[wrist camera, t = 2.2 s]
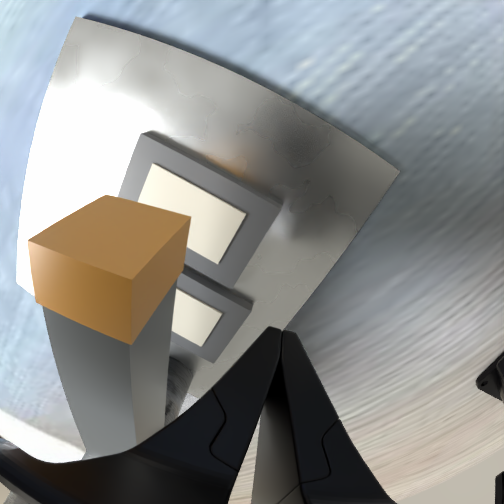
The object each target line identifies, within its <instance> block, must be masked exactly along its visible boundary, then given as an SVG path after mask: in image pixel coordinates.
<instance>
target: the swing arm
mask: <svg viewBox="0 0 504 504" xmlns="http://www.w3.org/2000/svg"><path fill="white" fill-rule="evenodd" d="M190 223H191V216H187V215H184V214H180V213H176V212H173V211H169V210H165V209H161V208H158V207H154V206H150V205H147V204H143V203H139V202H135V201H131V200H128V199H124V198H120V197H116V196H112V195H109V194H105V195H103V196H101V197H99V198H97V199H95V200H93V201H92V202H90V203H88V204H86V205H84V206H83V207H81V208H79V209H77V210H75V211H74V212H72V213H70V214H69V215H67V216H65V217H63V218H62V219H60V220H58V221H57V222H55V223H53V224H52V225H50V226H48V227H47V228H45V229H43V230H42V231H40V232H39V233H37V234H35V235H34V236H32V237H31V238H29V239H28V240H27V247H28V255H29V263H30V270H31V276H32V283H33V288H34V294H35V299H36V302H37V303H38V304H40V305H42V306H43V312H44V317H45V321H46V326H47V330H48V335H49V339H50V343H51V347H52V351H53V355H54V358H55V362H56V366H57V369H58V373H59V376H60V379H61V382H62V386H63V389H64V392H65V395H66V398H67V401H68V404H69V407H70V409H71V412H72V415H73V418H74V420H75V423H76V425H77V428H78V431H79V433H80V436H81V438H82V440H83V443H84V445H85V447H86V450H87V451H86V453H85V454H84V456H83V458H82V460H85V459H91V458H96V457H102V456H107V455H112V454H117V453H121V452H124V451H126V450H129V449H131V448H133V447H134V446H136V445H138V444H140V443H141V442H143V441H144V440H146V439H147V438H149V437H150V436H152V435H153V434H155V433H156V432H158V431H159V430H160V429H162V428H163V427H164V422H165V405H166V390H167V376H168V364H169V352H170V342H171V332H172V322H173V313H174V304H175V296H176V287H177V280H178V277H179V275H180V274H181V272H182V271H183V268H184V261H185V255H186V248H187V242H188V235H189V229H190Z"/></svg>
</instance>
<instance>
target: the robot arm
mask: <svg viewBox="0 0 504 504" xmlns="http://www.w3.org/2000/svg"><path fill="white" fill-rule="evenodd" d="M476 385H477V387H478V389H480V390H482V391H484V392H486V393H487V394H489V395H491V396H493V397H495V398H497V399H499V400H501V401H503V403H504V353H503V354H502V355H501V356H500V357H499V358H498V359H497V360H496V361H495V362H494V363H493V364H492V365H491V366H490V367H489V368H488V369H487V370H485V371H484V372H483V373H482V374H481V375H480V376H479V377H478V378H477V380H476ZM260 415H261V418H260ZM259 418H260V428H259V437H258V446H257V456H256V465H255V473H254V482H253V491H252V499H251V504H397V503H396V502H395V501H393V500H392V499H391V498H390V497H389V496H388V495H387V493H386V492H385V491H384V489H383V488H382V486H381V485H380V484H379V482H378V481H377V479H376V478H375V476H374V475H373V473H372V472H371V470H370V469H369V467H368V466H367V464H366V463H365V462H364V460H363V459H362V457H361V455H360V454H359V452H358V451H357V449H356V447H355V446H354V444H353V443H352V441H351V439H350V437H349V435H348V433H347V432H346V430H345V428H344V426H343V424H342V422H341V420H340V419H339V416H338V414H337V412H336V410H335V408H334V406H333V404H332V403H331V401H330V399H329V397H328V395H327V393H326V391H325V389H324V387H323V385H322V383H321V381H320V379H319V377H318V375H317V373H316V371H315V369H314V367H313V365H312V363H311V361H310V359H309V357H308V355H307V353H306V351H305V349H304V347H303V345H302V344H301V342H300V340H299V338H298V336H297V334H296V333H294V332H290V331H287V330H283V331H282V330H281V329H279V328H275V327H272V326H268V327H267V328H266V329H265V330H264V331H263V332H262V333H261V335H260V336H259V337H258V338H257V339H256V340H255V341H254V342H253V343H252V344H251V345H250V347H249V348H248V349H247V350H246V351H245V352H244V353H243V354H242V355H241V356H240V357H239V358H238V360H237V361H236V362H235V363H234V364H233V365H232V366H231V367H230V368H229V369H228V370H227V371H226V372H225V373H224V374H223V375H222V376H221V378H220V379H219V380H218V381H217V382H216V383H215V384H214V385H213V386H212V387H211V388H210V389H209V390H208V391H207V392H206V393H205V394H204V395H203V396H202V397H201V398H200V399H199V400H198V401H197V402H196V403H194V404H193V405H192V406H191V407H190V408H189V409H188V410H186V411H185V412H184V413H183V414H181V415H180V416H179V417H177V418H176V419H175V420H173V421H172V422H170V423H169V424H168V425H166V426H165V427H163V428H162V429H160V430H159V431H158V432H156V433H155V434H153V435H152V436H150V437H149V438H147V439H146V440H144V441H143V442H141V443H140V444H138V445H136V446H134V447H133V448H131V449H129V450H126V451H124V452H121V453H117V454H112V455H107V456H102V457H96V458H91V459H85V460H79V461H72V462H65V463H50V462H45V461H41V460H38V459H36V458H34V457H32V456H30V455H29V454H27V453H26V452H24V451H23V450H21V449H20V448H19V447H17V446H16V445H14V444H13V443H11V442H9V441H7V440H5V439H2V438H0V482H1V483H2V484H3V485H5V487H7V488H8V489H9V490H10V491H11V492H10V493H9V495H8V497H7V499H6V500H5V502H4V504H228V501H229V498H230V495H231V492H232V489H233V486H234V483H235V481H236V478H237V476H238V473H239V471H240V468H241V465H242V463H243V460H244V458H245V455H246V453H247V450H248V447H249V445H250V442H251V439H252V437H253V434H254V431H255V429H256V426H257V423H258V420H259ZM495 504H504V471H503V472H501V473H500V474H499V475H497V476H496V479H495Z"/></svg>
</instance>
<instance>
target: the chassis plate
mask: <svg viewBox="0 0 504 504" xmlns="http://www.w3.org/2000/svg"><path fill="white" fill-rule="evenodd" d="M144 132H147V133H149V134H151V135H153V136H155V137H157V138H159V139H161V140H163V141H165V142H167V143H169V144H171V145H173V146H175V147H177V148H179V149H181V150H183V151H184V152H186V153H188V154H190V155H192V156H194V157H196V158H198V159H200V160H202V161H203V162H205V163H207V164H209V165H211V166H213V167H215V168H216V169H218V170H220V171H222V172H224V173H226V174H227V175H229V176H231V177H233V178H235V179H237V180H238V181H240V182H242V183H244V184H245V185H247V186H249V187H251V188H253V189H254V190H256V191H258V192H260V193H261V194H263V195H265V196H267V197H268V198H270V199H272V200H274V201H275V202H277V203H279V204H281V205H282V209H281V211H280V213H279V214H278V216H277V217H276V219H275V221H274V222H273V224H272V225H271V227H270V229H269V230H268V232H267V234H266V235H265V237H264V238H263V240H262V242H261V243H260V245H259V246H258V248H257V250H256V251H255V253H254V255H253V256H252V258H251V259H250V261H249V263H248V264H247V266H246V267H245V269H244V271H243V272H242V274H241V275H240V277H239V279H238V280H237V282H236V284H235V285H234V287H233V288H232V290H231V289H229V288H228V287H226V286H224V285H222V284H220V283H219V282H217V281H215V280H213V279H211V278H210V277H208V276H206V275H204V274H202V273H201V272H199V271H197V270H195V269H194V268H192V267H190V266H188V265H187V264H185V263H184V267H186V268H187V269H189V270H191V271H193V272H194V273H196V274H198V275H200V276H202V277H203V278H205V279H207V280H209V281H210V282H212V283H214V284H216V285H218V286H219V287H221V288H223V289H225V290H227V291H229V292H230V293H232V294H234V295H236V296H238V297H240V298H241V299H243V300H245V301H247V302H249V303H251V304H253V308H252V311H251V313H250V314H249V316H248V317H247V318H246V320H245V321H244V323H243V324H242V326H241V327H240V328H239V330H238V331H237V333H236V334H235V335H234V337H233V338H232V340H231V341H230V342H229V344H228V345H227V346H226V348H225V349H224V351H223V352H222V353H221V355H220V356H219V358H218V359H217V360H216V362H215V363H214V364H213V363H211V362H209V361H207V360H205V359H203V358H201V357H199V356H197V355H195V354H193V353H192V352H190V351H188V350H186V349H184V348H182V347H180V346H179V345H177V344H175V343H173V342H170V352H169V364H168V376H167V390H166V405H165V422H164V427H165V426H166V425H168V424H169V423H170V422H172V421H173V420H175V419H176V418H177V417H178V414H179V412H180V409H181V407H182V404H183V402H184V400H185V397H186V395H187V393H189V394H191V395H193V396H195V397H197V398H199V399H200V398H201V397H202V396H203V395H204V394H205V393H206V392H207V391H208V390H209V389H210V388H211V387H212V386H213V385H214V384H215V383H216V382H217V381H218V380H219V379H220V378H221V376H222V375H223V374H224V373H225V372H226V371H227V370H228V369H229V368H230V367H231V366H232V365H233V364H234V363H235V362H236V361H237V360H238V358H239V357H240V356H241V355H242V354H243V353H244V352H245V351H246V350H247V349H248V348H249V347H250V345H251V344H252V343H253V342H254V341H255V340H256V339H257V338H258V337H259V336H260V335H261V333H262V332H263V331H264V330H265V329H266V328H267V327H268V326H272V327H275V328H279V329H281V330H282V331H283V329H284V328H285V327H286V326H287V325H288V323H289V322H290V321H291V320H292V318H293V317H294V316H295V315H296V313H297V312H298V311H299V310H300V308H301V307H302V306H303V305H304V303H305V302H306V301H307V300H308V298H309V297H310V296H311V294H312V293H313V292H314V291H315V289H316V288H317V287H318V285H319V284H320V283H321V282H322V280H323V279H324V278H325V276H326V275H327V274H328V272H329V271H330V270H331V268H332V267H333V266H334V264H335V263H336V262H337V260H338V259H339V258H340V256H341V255H342V254H343V252H344V251H345V250H346V248H347V247H348V246H349V244H350V243H351V241H352V240H353V239H354V237H355V236H356V235H357V233H358V232H359V230H360V229H361V228H362V226H363V225H364V223H365V222H366V221H367V219H368V218H369V216H370V215H371V213H372V212H373V211H374V209H375V208H376V206H377V205H378V203H379V202H380V201H381V199H382V198H383V196H384V195H385V193H386V192H387V190H388V189H389V187H390V186H391V184H392V183H393V181H394V180H395V178H396V177H397V175H398V174H399V172H400V171H399V170H398V169H396V168H395V167H394V166H392V165H391V164H389V163H388V162H387V161H385V160H384V159H382V158H381V157H380V156H378V155H377V154H375V153H374V152H372V151H371V150H369V149H368V148H367V147H365V146H364V145H362V144H361V143H359V142H358V141H356V140H355V139H353V138H351V137H350V136H348V135H347V134H345V133H344V132H342V131H341V130H339V129H337V128H336V127H334V126H333V125H331V124H329V123H328V122H326V121H324V120H323V119H321V118H319V117H318V116H316V115H314V114H313V113H311V112H309V111H307V110H306V109H304V108H302V107H300V106H299V105H297V104H295V103H293V102H291V101H290V100H288V99H286V98H284V97H282V96H280V95H279V94H277V93H275V92H273V91H271V90H269V89H267V88H265V87H263V86H261V85H259V84H257V83H255V82H253V81H251V80H249V79H247V78H245V77H243V76H241V75H239V74H237V73H235V72H232V71H230V70H228V69H226V68H224V67H221V66H219V65H217V64H215V63H212V62H210V61H208V60H205V59H203V58H201V57H198V56H196V55H193V54H191V53H189V52H186V51H184V50H181V49H178V48H176V47H173V46H171V45H168V44H165V43H162V42H160V41H157V40H154V39H151V38H148V37H145V36H142V35H139V34H136V33H133V32H130V31H127V30H124V29H120V28H117V27H114V26H110V25H107V24H103V23H99V22H96V21H92V20H88V19H84V18H80V17H75V19H74V21H73V24H72V26H71V28H70V30H69V33H68V35H67V37H66V40H65V42H64V44H63V47H62V49H61V52H60V54H59V57H58V60H57V62H56V65H55V68H54V71H53V73H52V76H51V79H50V82H49V85H48V88H47V91H46V95H45V98H44V101H43V105H42V108H41V112H40V115H39V119H38V123H37V127H36V131H35V135H34V139H33V144H32V148H31V153H30V158H29V163H28V168H27V174H26V179H25V186H24V192H23V200H22V207H21V216H20V226H19V238H18V254H17V283H18V284H19V285H21V286H22V287H23V288H24V289H25V290H27V291H28V292H29V293H30V294H32V295H33V296H34V297H35V294H34V288H33V283H32V276H31V270H30V263H29V255H28V247H27V240H28V239H29V238H31V237H32V236H34V235H35V234H37V233H39V232H40V231H42V230H43V229H45V228H47V227H48V226H50V225H52V224H53V223H55V222H57V221H58V220H60V219H62V218H63V217H65V216H67V215H69V214H70V213H72V212H74V211H75V210H77V209H79V208H81V207H83V206H84V205H86V204H88V203H90V202H92V201H93V200H95V199H97V198H99V197H101V196H103V195H105V194H109V195H112V196H116V197H117V195H118V192H119V189H120V186H121V183H122V180H123V177H124V175H125V172H126V169H127V166H128V163H129V161H130V158H131V155H132V153H133V150H134V148H135V145H136V143H137V140H138V138H139V135H140V133H144Z"/></svg>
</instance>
